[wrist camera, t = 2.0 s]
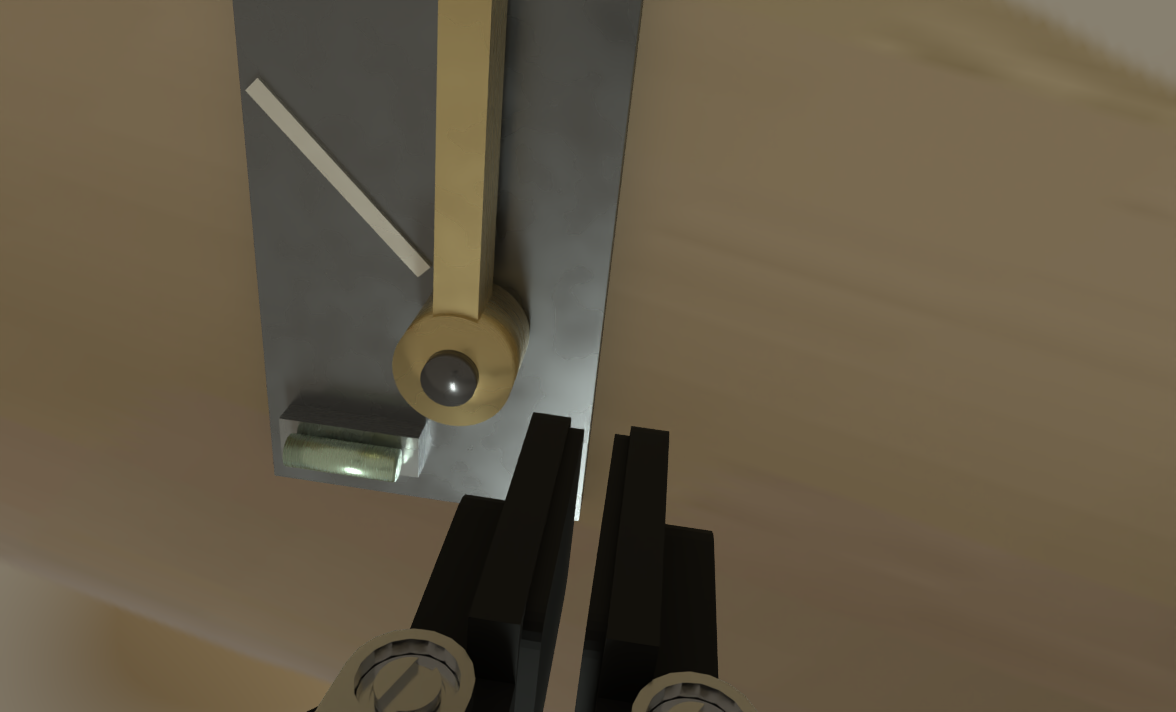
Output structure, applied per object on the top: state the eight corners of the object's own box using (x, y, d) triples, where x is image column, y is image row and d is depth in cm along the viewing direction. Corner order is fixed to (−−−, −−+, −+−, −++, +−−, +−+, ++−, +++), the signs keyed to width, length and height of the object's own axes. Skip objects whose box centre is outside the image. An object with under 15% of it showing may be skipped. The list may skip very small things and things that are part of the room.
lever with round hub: (556, -17, 28) (535, -5, 24) (525, 384, 35) (505, 442, 31) (424, -34, 28) (382, -24, 24) (420, 369, 35) (387, 425, 32)
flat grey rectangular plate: (648, -44, 29) (642, -36, 25) (582, 500, 40) (571, 560, 36) (245, -92, 30) (183, -91, 26) (288, 456, 40) (248, 510, 37)
